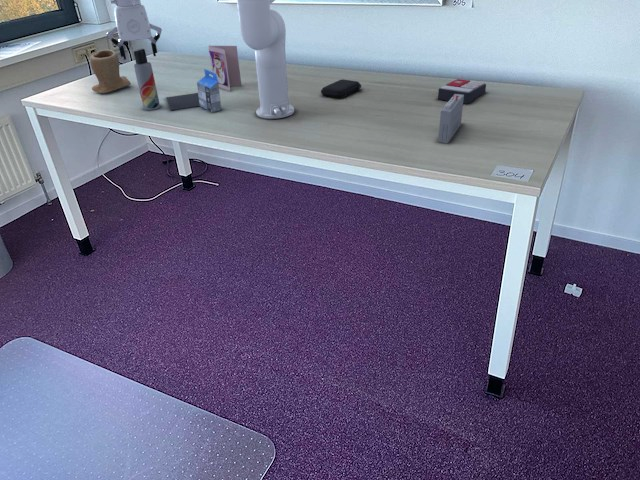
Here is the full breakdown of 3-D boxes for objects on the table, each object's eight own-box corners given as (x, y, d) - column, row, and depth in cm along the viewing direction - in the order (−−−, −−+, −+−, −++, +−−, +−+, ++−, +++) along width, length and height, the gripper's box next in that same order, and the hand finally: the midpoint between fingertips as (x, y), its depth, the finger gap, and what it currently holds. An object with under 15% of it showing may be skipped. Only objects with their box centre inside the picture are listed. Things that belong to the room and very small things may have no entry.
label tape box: (199, 106, 182) (193, 70, 175) (209, 103, 184) (204, 68, 177) (212, 112, 176) (206, 76, 169) (222, 109, 178) (217, 73, 171)
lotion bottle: (155, 110, 181) (142, 50, 170) (140, 110, 182) (126, 50, 171) (163, 105, 186) (150, 46, 175) (148, 105, 187) (135, 47, 176)
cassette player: (451, 123, 157) (455, 90, 152) (460, 124, 156) (464, 91, 151) (438, 142, 146) (441, 106, 140) (447, 143, 145) (451, 107, 139)
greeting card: (212, 86, 204) (206, 46, 196) (228, 81, 208) (222, 42, 200) (228, 91, 197) (222, 50, 189) (244, 87, 201) (239, 46, 193)
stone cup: (105, 97, 197) (94, 56, 189) (88, 92, 204) (77, 52, 196) (139, 87, 207) (130, 48, 199) (122, 83, 214) (113, 44, 206)
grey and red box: (487, 81, 180) (469, 90, 169) (485, 94, 182) (467, 104, 171) (457, 77, 185) (438, 86, 175) (455, 89, 187) (437, 99, 177)
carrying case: (343, 100, 181) (365, 89, 191) (343, 92, 179) (365, 81, 189) (318, 96, 186) (341, 85, 196) (318, 87, 185) (341, 77, 195)
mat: (211, 105, 184) (211, 103, 183) (171, 111, 180) (171, 109, 180) (204, 93, 196) (204, 91, 196) (166, 98, 193) (166, 97, 192)
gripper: (99, 5, 160) (113, 62, 169) (157, 0, 165) (167, 56, 174) (99, 2, 166) (112, 57, 175) (155, -3, 171) (165, 52, 180)
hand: (139, 57), depth 175 cm, fingers open, 9 cm apart
